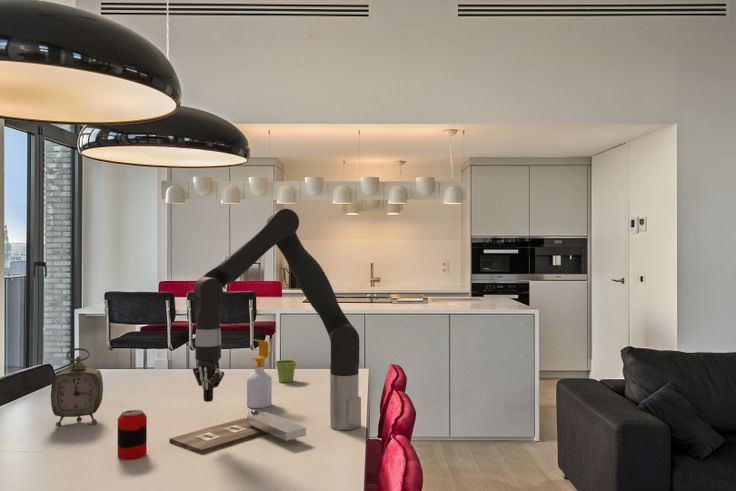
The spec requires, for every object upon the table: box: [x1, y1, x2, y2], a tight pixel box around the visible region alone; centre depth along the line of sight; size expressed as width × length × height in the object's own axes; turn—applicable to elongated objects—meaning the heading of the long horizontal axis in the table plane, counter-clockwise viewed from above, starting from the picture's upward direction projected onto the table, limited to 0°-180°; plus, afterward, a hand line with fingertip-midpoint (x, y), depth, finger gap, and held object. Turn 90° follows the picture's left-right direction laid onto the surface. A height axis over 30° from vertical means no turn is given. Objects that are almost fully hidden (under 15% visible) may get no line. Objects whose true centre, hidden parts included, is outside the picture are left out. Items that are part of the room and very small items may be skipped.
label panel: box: [168, 417, 269, 455], centre depth 184 cm, size 16×28×2 cm, turn 141°
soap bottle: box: [246, 338, 273, 409], centre depth 220 cm, size 9×9×25 cm
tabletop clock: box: [50, 347, 104, 428], centre depth 198 cm, size 14×9×25 cm, turn 105°
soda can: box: [117, 409, 148, 461], centre depth 167 cm, size 8×8×12 cm
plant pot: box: [275, 359, 298, 384], centre depth 261 cm, size 9×9×9 cm
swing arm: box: [246, 409, 307, 442], centre depth 185 cm, size 7×26×3 cm, turn 41°
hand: (208, 401), depth 179 cm, fingers closed
